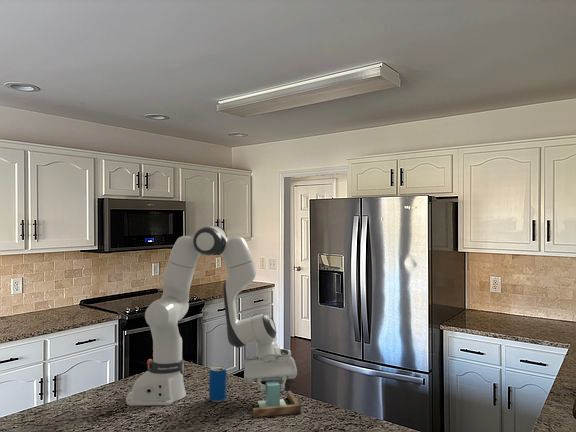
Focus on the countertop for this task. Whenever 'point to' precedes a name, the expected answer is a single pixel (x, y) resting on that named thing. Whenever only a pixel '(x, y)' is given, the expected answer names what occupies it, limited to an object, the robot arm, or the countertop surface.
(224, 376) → the beverage can
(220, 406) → the countertop surface
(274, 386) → the teal block
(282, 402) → the pad
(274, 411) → the corner walls
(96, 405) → the countertop surface
